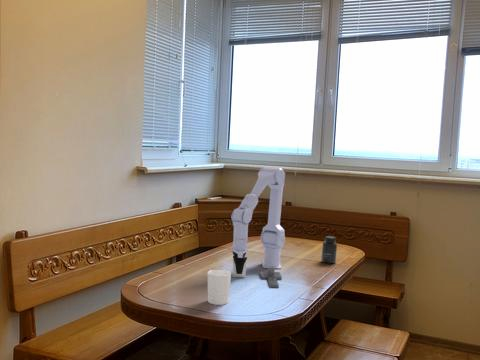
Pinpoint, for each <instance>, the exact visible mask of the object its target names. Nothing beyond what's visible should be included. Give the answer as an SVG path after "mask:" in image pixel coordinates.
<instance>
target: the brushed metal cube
mask: <svg viewBox="0 0 480 360" xmlns="http://www.w3.org/2000/svg"><path fill="white" fill-rule="evenodd" d="M246 270H247V261H246V262H245V264H244V267H243V272H242V274H237V273H236V266H235V261H234V259H233V258H232V273H231V278H245V279H246V275H247V274H246V272H247V271H246Z"/></svg>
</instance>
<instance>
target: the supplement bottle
mask: <svg viewBox="0 0 480 360" xmlns="http://www.w3.org/2000/svg"><path fill="white" fill-rule="evenodd" d="M321 247H322V248H321V259H320V260H321V263H323V262H324V264H327V263H334V264H336V262H337V255H338V253H337V250H338V244H337V242H336V236H331V235H328V236H325V237H324V242H322V245H321Z"/></svg>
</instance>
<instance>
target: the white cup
mask: <svg viewBox="0 0 480 360" xmlns="http://www.w3.org/2000/svg"><path fill="white" fill-rule="evenodd" d="M231 278H232V273H231V271H229V270H224V269H211V270H209V271H207V302H208V303H209V304H210V305H215V306H224V305H227V304H228V303H229V296H230V289H231Z"/></svg>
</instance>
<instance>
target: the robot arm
mask: <svg viewBox="0 0 480 360" xmlns="http://www.w3.org/2000/svg"><path fill="white" fill-rule="evenodd" d="M285 178H286V172H285V171H284V170H283V168H281V167H269V166H268V167H267V166H262V167H261V168H260V169H259V171H258V172H257V180H256V182H255V184H254V186H253V188H252V190H251V192H250V193H248V194H245V197H244V198H243V199H242V201H241V203H240V204H239V206H238V207H237V208H235V209H233V211H232V213H231V215H230V216H231V217H230V218H231V221H232V226H233V240H232V247H231V248H229V251H232V254H233V256H232V260H233V259H234V261H235V266H236V273H237V274H242V272H243V267H244V264H245V262H246V263H247V259H248V257H247V256H246V254H247V252H248V238H249V237H248V236H249V235H248V233H249V223H250V222H251V221H252V220H253V219H252V218H253V213H254V210H255V209H256V206H257V205H258V203H259V197H260V196H261V194H262V192H263V191H264V190H265V189H266V187H267V186H268V187H269V189H270V193H269V206H268V216H267V217H268V218H267V224H266V225H265V226H263V227H262V231H261V234H260V241H261V244H262V246H263V247H264V249H263V261H261V265H262V268H263V269H268V266H274V267H275V269H282V265H281V248H283V246H284V245H285V242H286V235H285V231H286V230H285V229H284V228H283V227H282V226H281V214H282V203H283V202H282V201H283V194H284V193H283V192H284V191H283V190H284V187H285Z"/></svg>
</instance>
